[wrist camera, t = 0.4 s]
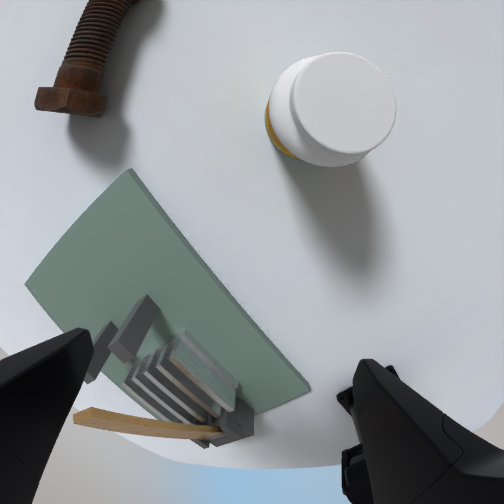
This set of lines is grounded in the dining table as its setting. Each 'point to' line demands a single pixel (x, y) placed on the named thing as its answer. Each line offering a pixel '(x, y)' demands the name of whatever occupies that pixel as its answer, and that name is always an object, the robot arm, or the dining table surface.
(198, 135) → the dining table surface
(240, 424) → the block
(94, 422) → the brown long flat bar
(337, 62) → the supplement bottle
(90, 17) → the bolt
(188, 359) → the heatsink
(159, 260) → the board
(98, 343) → the lug fork
